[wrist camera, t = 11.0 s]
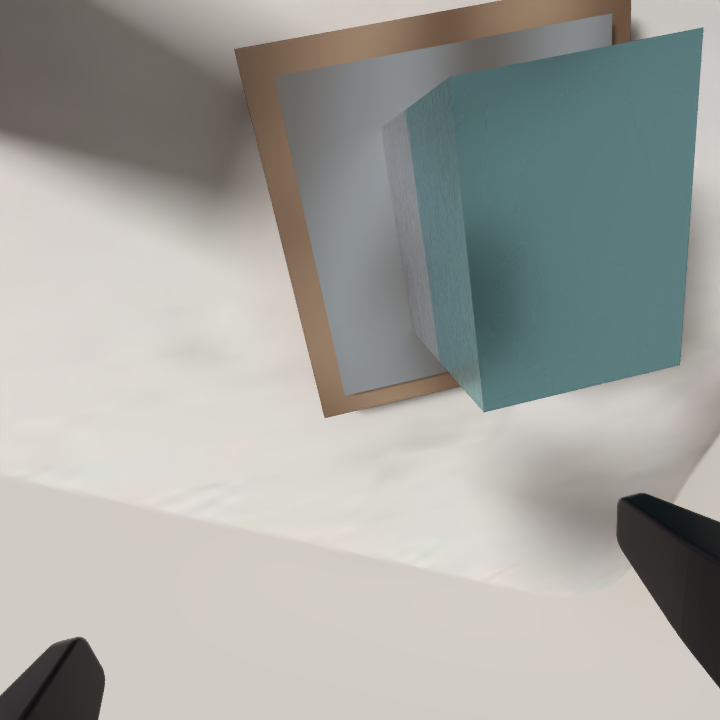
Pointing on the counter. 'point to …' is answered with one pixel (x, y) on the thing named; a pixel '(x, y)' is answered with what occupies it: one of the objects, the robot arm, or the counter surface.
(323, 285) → the square wooden frame
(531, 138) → the teal and white box
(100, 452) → the counter surface
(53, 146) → the counter surface
